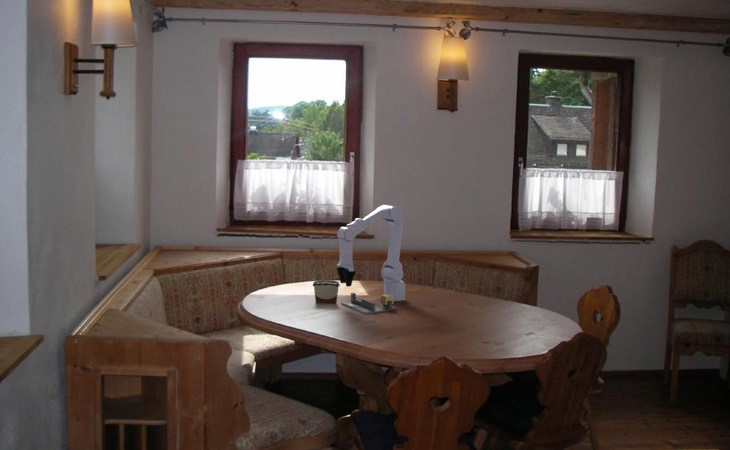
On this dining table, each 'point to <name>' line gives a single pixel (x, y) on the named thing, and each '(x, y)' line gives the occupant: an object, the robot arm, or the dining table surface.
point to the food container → (326, 291)
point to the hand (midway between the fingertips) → (345, 284)
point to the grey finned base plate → (388, 306)
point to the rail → (362, 305)
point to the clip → (387, 298)
